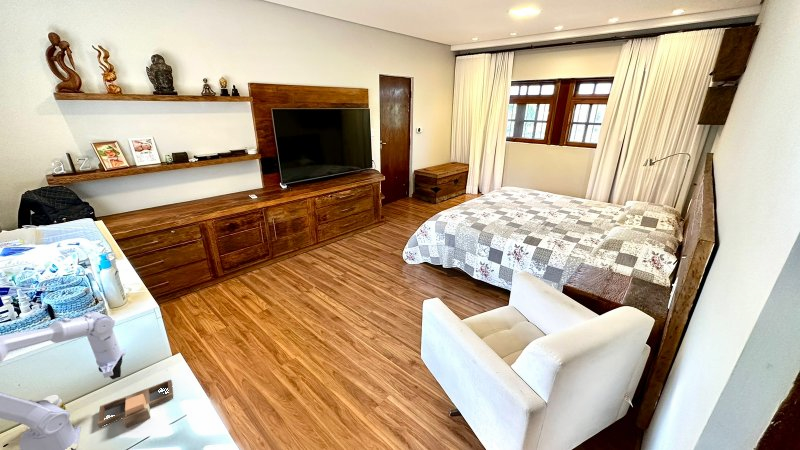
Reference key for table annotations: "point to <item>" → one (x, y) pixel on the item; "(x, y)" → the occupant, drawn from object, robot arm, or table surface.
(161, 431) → the table surface
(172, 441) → the table surface
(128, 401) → the block
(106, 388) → the table surface
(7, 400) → the robot arm
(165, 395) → the board
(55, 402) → the supplement bottle
